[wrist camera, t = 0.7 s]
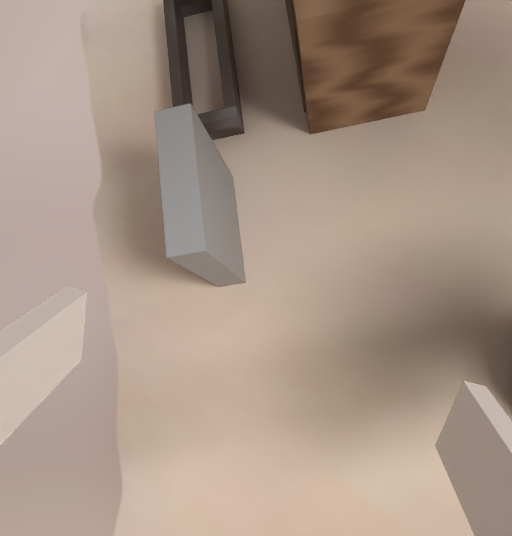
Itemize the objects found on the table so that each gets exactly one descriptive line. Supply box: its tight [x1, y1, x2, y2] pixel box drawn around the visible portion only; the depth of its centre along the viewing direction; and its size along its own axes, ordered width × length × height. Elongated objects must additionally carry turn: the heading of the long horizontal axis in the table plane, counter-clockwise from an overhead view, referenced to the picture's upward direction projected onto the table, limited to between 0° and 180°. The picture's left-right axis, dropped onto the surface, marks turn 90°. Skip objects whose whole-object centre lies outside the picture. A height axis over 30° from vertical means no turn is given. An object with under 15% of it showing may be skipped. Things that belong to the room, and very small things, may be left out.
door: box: [155, 103, 246, 287], centre depth 38 cm, size 4×12×14 cm, turn 8°
